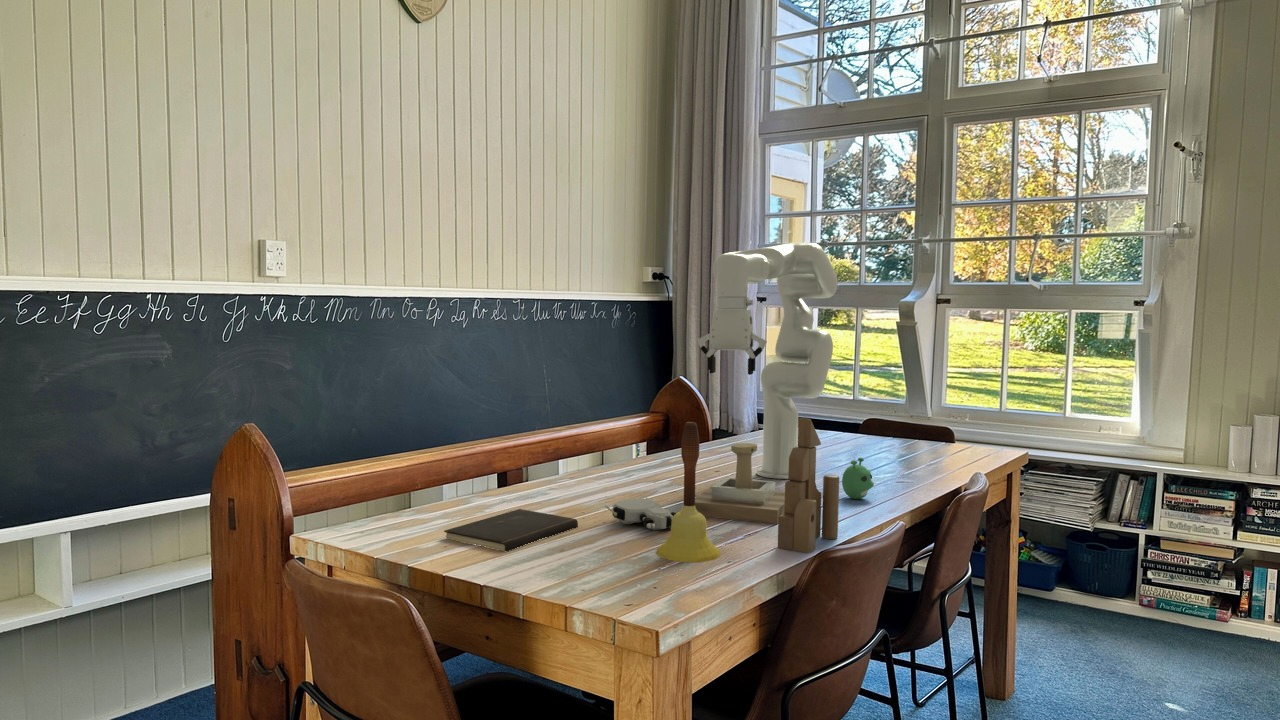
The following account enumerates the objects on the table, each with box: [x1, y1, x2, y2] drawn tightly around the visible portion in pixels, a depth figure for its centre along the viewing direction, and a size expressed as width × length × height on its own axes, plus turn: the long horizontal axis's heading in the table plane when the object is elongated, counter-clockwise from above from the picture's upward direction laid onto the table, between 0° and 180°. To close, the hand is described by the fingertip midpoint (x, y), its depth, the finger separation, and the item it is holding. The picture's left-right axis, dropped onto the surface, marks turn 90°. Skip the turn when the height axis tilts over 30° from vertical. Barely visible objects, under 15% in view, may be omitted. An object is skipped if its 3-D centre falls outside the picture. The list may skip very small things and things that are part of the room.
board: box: [695, 486, 785, 525], centre depth 204 cm, size 20×20×3 cm
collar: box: [711, 477, 776, 505], centre depth 204 cm, size 12×12×3 cm
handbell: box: [655, 421, 722, 563], centre depth 167 cm, size 12×12×25 cm
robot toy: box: [604, 497, 677, 531], centre depth 189 cm, size 12×4×15 cm
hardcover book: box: [443, 508, 579, 552], centre depth 180 cm, size 16×23×2 cm
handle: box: [730, 442, 758, 489], centre depth 204 cm, size 5×6×15 cm
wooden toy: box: [777, 417, 840, 554], centre depth 176 cm, size 16×7×25 cm, turn 145°
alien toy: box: [841, 457, 875, 500], centre depth 217 cm, size 7×8×10 cm
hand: (731, 373), depth 219 cm, fingers open, 9 cm apart
